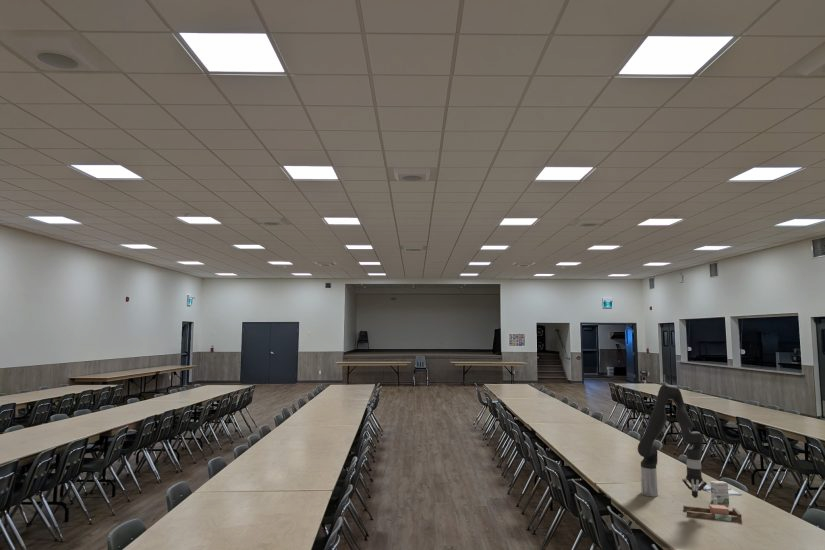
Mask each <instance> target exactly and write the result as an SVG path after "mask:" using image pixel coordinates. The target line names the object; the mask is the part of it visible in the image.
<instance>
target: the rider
mask: <svg viewBox="0 0 825 550" xmlns="http://www.w3.org/2000/svg"><path fill="white" fill-rule="evenodd" d="M708 508H710V513H712V514H721V515H729V510H730V509H729V508H728V507H727V506H726V505H720V504H718V505H714V504H709V507H708Z"/></svg>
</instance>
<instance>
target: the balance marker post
mask: <svg viewBox="0 0 825 550" xmlns="http://www.w3.org/2000/svg"><path fill="white" fill-rule="evenodd" d="M712 502H713V505H719V503H717V498H713V501H712Z"/></svg>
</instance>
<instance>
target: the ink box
mask: <svg viewBox="0 0 825 550" xmlns="http://www.w3.org/2000/svg"><path fill="white" fill-rule="evenodd" d="M709 482H710V485H711V493H710V496H711V497H710V498H711V501H712V502H713V498H717V504H719V503H721V504H722V503H724V504H725V503H730V498H729V496H730V495H729V494H728V488H729V483H727V482H725V481H723V480H722V481H721V480H720V481H719V480H718V481H717V480H715V481H714V480H713V481H712V480H711V481H709Z"/></svg>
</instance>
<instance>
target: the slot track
mask: <svg viewBox="0 0 825 550" xmlns="http://www.w3.org/2000/svg"><path fill="white" fill-rule="evenodd" d="M682 507H683V508H682V510H683V511H684V512H686V516H687V517H689V516H691V517H692V518H699V519H700V518H701V519H710V520H719V521H726V522H727V521H728V522H737V523H743V519H742V516H743V515H742V513H740V512H739V510H738V509H737V508H736V507H732V508H731V509H732V510H731V509H728V510H729V515H721V514H712V513H710V507H702V506H694V505H693V506H691V505H684V504H683V506H682Z"/></svg>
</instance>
